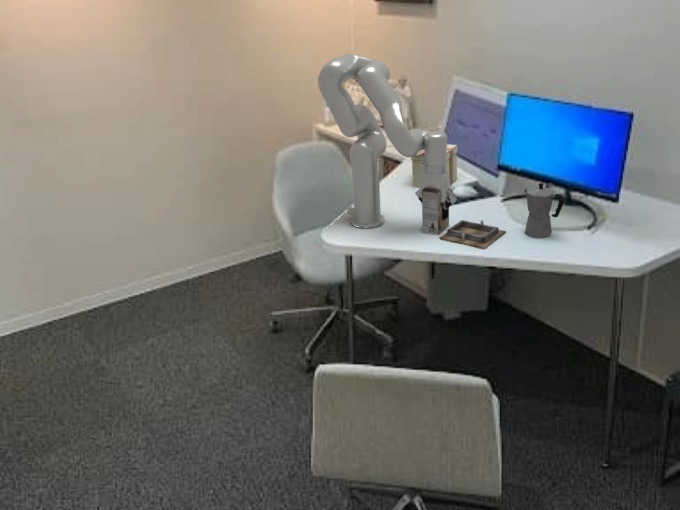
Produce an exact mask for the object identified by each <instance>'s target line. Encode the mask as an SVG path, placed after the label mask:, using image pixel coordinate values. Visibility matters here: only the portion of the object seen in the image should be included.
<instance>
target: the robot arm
mask: <svg viewBox="0 0 680 510" xmlns="http://www.w3.org/2000/svg"><path fill="white" fill-rule="evenodd" d="M390 77H391V73H390V68H389V67H388V65H387V64H386V63H385V62H384V61H380V60H376V59H373V58H369V57H365V56H360V55H358V54H357V55H356V54H353V53H346V54H345V53H344V54H341V55H338V56H337V57H335V58H332V59H330V60H329V61H327V62H326V63H325V64H324V65H323V66H322V67H321V69H320V71H319V73H318V77H317V85H318V89H319V92H320V94H321V96H322V98H323V99H324V102H325V103H326V104H327V107H328V109H329V111H330V113H331V115H332V117H333V119H334V121H335V123H336V125H337V126H338V129H339V130H340V132H341V134H343V136H345V137H346V138H354V137H356V136H357V138H358V139H356V140H355V141H354V142H353V143H352V145H351V146H350V149H349V155H348V156H349V162H350V165H351V173H352V189H353V191H352V193H353V194H352V195H353V207H352V206H349V207H347V211H346V214H347V215H351V218H350V224H351V223H352V224H354V225H356V226H359V227H374V228H378V227H380V225H381V226H382V225H384V224H385V223H386V218H385V216H384V215H382V214H381V191H380V189H381V188H380V171H379V166H378V163H377V160H378V159H379V158H381V156H382V155H384V153H385V152H386V150H387V146H388V145H387V140H386V139H388V140H389V142H390V143H391V145H392V146H393V147H394V148H395V150H396V151H397V152H398V153H399V154H400V155H401V156H403V157H405V158H411V157H412V156H414V155H416V154H417V153H418V152H419V151H422V150H424V155H425V162H424V163H422V166H423V167H424V171H422V176H421V182H420V187H419V189H418V190H416V191H415V192H414V194H415V196H416V197H417V199H418V200H419V202H420V204H421V205H422V189H424V188H429V189H435V190H439V191H440V202H441V203H442V206H443V209H442V220H445V219H446V218H448V216H449V217H450V207H451V206H452V205H454V204H455V203H456V201H457V200H458V198H457V197H456V196H455V195H454V194H453V192H452V191H451V190H452V187H451V185H450V178H449V173H448V172H447V144H448V136H447V134H446V132H444V131H440V130H431V131H430V130H426V129H424V128H423V129H422V128H412V129H410V130H409V129H408V128H407V127H406V123H404V120H403V118H402V111H401V110H402V101H401V98H400V96H399V95H398V94H397V92H396V91H395V89H394V88H393V87H392V85H391V84H390V82H389V80H390ZM349 80H356V81H357V82H358V84H359V86H360V88H361V89H362V91H363V92H364V94H365V95H366V97H367V98H368V99H369V101H370V102H371V104H372V105H373V106H374V109H376V111H377V113H378V114H379V116H380V120H381V124H382V127H383V129H384V132H383V131H382V129H381V127H380V125H379V123H378V121H377V118H376V117H375V114H374V113H373V111H372V110H371V109H370V108H369V107H367V106H366V105H364V104H359V103H358V104H355V102H354V100H353V98H352V96H351V94H350V93H349V92H348V90H347V89H346V88H345V87H344V85H343V84H344V83H345V82H347V81H349ZM384 133H385V135H386V136H387V138H386V137H385V135H384ZM448 199H449V201H448ZM352 224H351V225H352ZM377 226H378V227H377ZM359 227H358V228H359Z"/></svg>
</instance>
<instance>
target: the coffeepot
mask: <svg viewBox="0 0 680 510" xmlns="http://www.w3.org/2000/svg"><path fill="white" fill-rule="evenodd" d="M544 186H545V184H544V183H543V182H542V183H541V182H539V183H538V187H526V188H523V191H524V193H525V195H526V201H527V202H526V203H527V211H528V216H527V221H526V225H525V228H524V232H523V233H524V235H526V236H527V237H530V238H533V239H546V238H549V237H551V235H552V232H553V230H552V229H553V228H552V222H551V221H552V220H551V217H552V218H558V217H559V216H560V213H561V210H562V208H563V206H564V204H565V198H564V197H563V196H562V195H561V194H560V193H555V192H556V191H555V190H552V189H551V188H549V187H544ZM554 200H557V201H558V203H557V207H556V209H555V213H554V214H553V213H551V215H550V212H551V211H552V210H551V209H552V205H553V202H554Z"/></svg>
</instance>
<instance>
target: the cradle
mask: <svg viewBox="0 0 680 510" xmlns="http://www.w3.org/2000/svg"><path fill="white" fill-rule="evenodd" d="M506 233H507V231H506V230H502V229H499V227H497V226H492V225H488V224H484V219H483V220H480V223H477V222H473V221H467V220H463V219H461V220H460V221H458V222H457V223H456V224H454V225H453V226H450V228H447V230H446V232H445V233H443V234H442V235H440V236H439V238H438V239H440V240H441V241H444V240H445V242H448V241H449V243H454V244H457V243H458V245H462V244H463V246H467V247H473V248H475V249H476V248H477V249H481V250H484V249H485V250H486V249H488V248H489V247H490V246H491V245H492V244H494V243H495V242H496V241H498V240H499V239H500V238H502V237H503V236H504V235H505V234H506ZM488 246H489V247H488Z"/></svg>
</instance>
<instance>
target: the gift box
mask: <svg viewBox="0 0 680 510" xmlns="http://www.w3.org/2000/svg"><path fill="white" fill-rule="evenodd" d="M457 153H458V144H449V143H447V172H448V173H449V178H450V186H451V185H452V184H453V183H454V182H455V181H457V180H458V171H457V170H458V169H457V168H458V166H457V165H458V164H457V163H458V162H457V161H458V160H457V157H458V156H457ZM410 160H411V163H412V164H411V166H412V167H411V168H412V169H411V171H412V187H414V188H420V182H421V176H422V171H424V167H423V166H422V163H424V162H425V155H424V150H422V151H419V152H418V153H417V154H416V155H414V156H412V157H410Z"/></svg>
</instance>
